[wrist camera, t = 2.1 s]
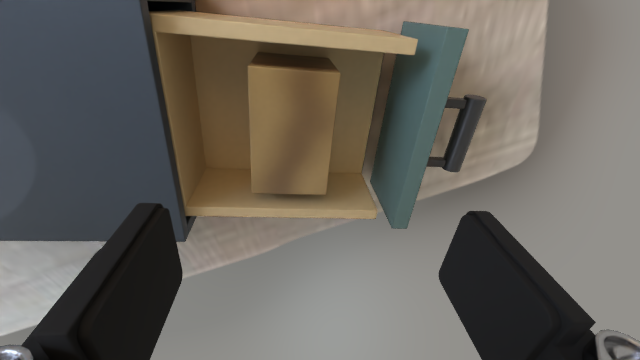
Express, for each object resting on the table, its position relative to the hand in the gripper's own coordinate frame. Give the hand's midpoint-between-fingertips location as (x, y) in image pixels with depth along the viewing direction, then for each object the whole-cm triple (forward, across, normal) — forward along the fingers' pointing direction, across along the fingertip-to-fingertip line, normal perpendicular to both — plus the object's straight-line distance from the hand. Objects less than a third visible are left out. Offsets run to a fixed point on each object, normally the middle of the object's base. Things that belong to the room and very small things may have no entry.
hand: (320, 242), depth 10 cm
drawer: (+16, -2, 0) cm, 16 cm away
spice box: (+15, +1, 0) cm, 15 cm away
